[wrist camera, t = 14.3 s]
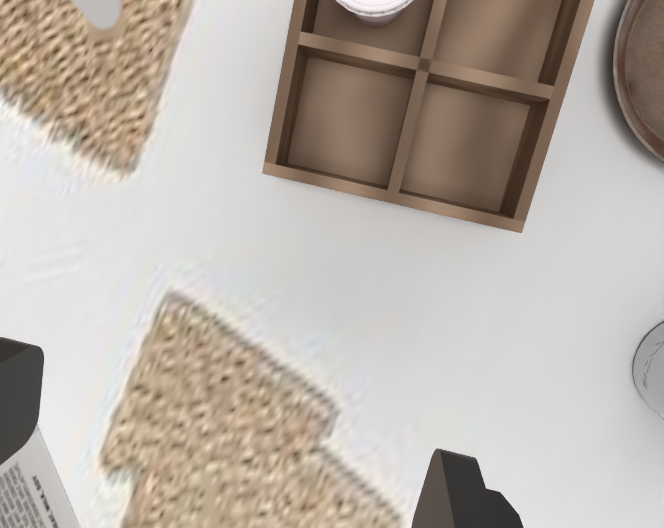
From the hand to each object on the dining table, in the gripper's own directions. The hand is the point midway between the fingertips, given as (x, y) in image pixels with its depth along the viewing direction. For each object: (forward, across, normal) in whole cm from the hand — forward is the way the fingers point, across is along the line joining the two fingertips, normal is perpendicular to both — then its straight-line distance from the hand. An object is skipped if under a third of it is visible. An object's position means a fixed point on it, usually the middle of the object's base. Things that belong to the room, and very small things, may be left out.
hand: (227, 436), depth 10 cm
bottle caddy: (+32, -3, -12) cm, 34 cm away
